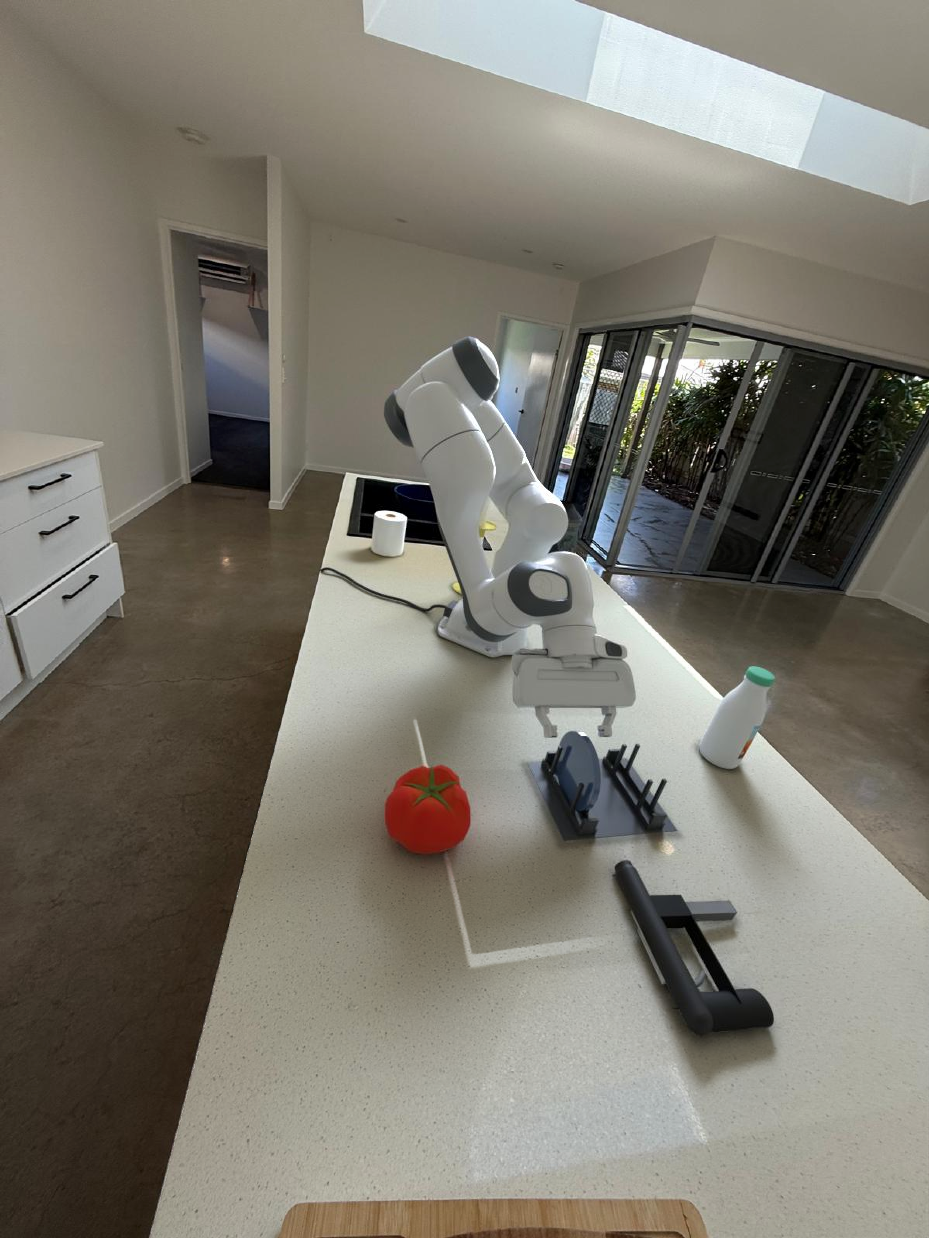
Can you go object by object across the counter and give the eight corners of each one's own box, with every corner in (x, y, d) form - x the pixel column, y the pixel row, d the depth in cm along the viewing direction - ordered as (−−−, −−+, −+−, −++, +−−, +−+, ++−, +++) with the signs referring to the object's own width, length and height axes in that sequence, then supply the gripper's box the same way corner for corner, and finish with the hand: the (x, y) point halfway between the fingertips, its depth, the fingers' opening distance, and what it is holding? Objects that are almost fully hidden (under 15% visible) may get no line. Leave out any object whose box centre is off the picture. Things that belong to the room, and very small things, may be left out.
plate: (550, 768, 87) (569, 715, 81) (555, 768, 87) (575, 715, 82) (579, 828, 77) (603, 771, 71) (584, 827, 77) (610, 771, 72)
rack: (525, 765, 88) (536, 730, 85) (625, 761, 94) (639, 728, 90) (562, 844, 75) (577, 806, 71) (675, 833, 80) (694, 798, 77)
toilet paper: (366, 552, 163) (370, 516, 157) (377, 543, 172) (380, 508, 167) (397, 559, 162) (401, 523, 157) (405, 549, 171) (410, 515, 166)
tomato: (435, 887, 65) (446, 842, 61) (362, 833, 70) (368, 789, 66) (484, 825, 75) (496, 783, 71) (417, 782, 80) (425, 741, 76)
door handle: (707, 858, 74) (610, 858, 70) (812, 1017, 57) (691, 1029, 52) (697, 873, 75) (601, 874, 71) (796, 1032, 58) (678, 1045, 54)
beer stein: (576, 587, 169) (599, 514, 158) (520, 577, 168) (538, 503, 157) (568, 568, 184) (588, 501, 173) (516, 559, 183) (532, 491, 171)
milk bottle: (721, 774, 96) (769, 687, 87) (689, 746, 101) (730, 663, 93) (746, 765, 99) (794, 681, 90) (714, 739, 105) (756, 658, 96)
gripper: (518, 642, 76) (524, 736, 73) (635, 647, 82) (646, 735, 78) (503, 652, 82) (508, 739, 78) (614, 656, 88) (623, 737, 84)
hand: (578, 737), depth 78 cm, fingers open, 8 cm apart
